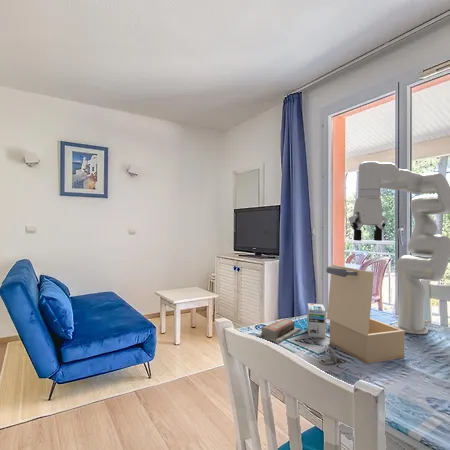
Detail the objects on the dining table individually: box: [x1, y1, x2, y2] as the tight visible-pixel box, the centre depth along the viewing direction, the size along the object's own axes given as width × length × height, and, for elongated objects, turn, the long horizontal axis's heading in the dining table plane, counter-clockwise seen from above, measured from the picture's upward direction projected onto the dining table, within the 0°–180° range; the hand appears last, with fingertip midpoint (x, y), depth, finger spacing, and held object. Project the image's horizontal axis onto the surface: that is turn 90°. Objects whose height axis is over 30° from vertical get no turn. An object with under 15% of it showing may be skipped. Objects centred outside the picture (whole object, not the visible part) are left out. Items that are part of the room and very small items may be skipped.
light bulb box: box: [306, 302, 327, 339], centre depth 128 cm, size 11×7×11 cm, turn 168°
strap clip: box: [318, 348, 347, 366], centre depth 101 cm, size 8×3×4 cm, turn 108°
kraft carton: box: [329, 317, 406, 365], centre depth 111 cm, size 16×18×9 cm
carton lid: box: [326, 264, 375, 336], centre depth 108 cm, size 20×19×8 cm
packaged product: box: [256, 319, 301, 344], centre depth 126 cm, size 18×5×10 cm
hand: (367, 240), depth 119 cm, fingers open, 9 cm apart
